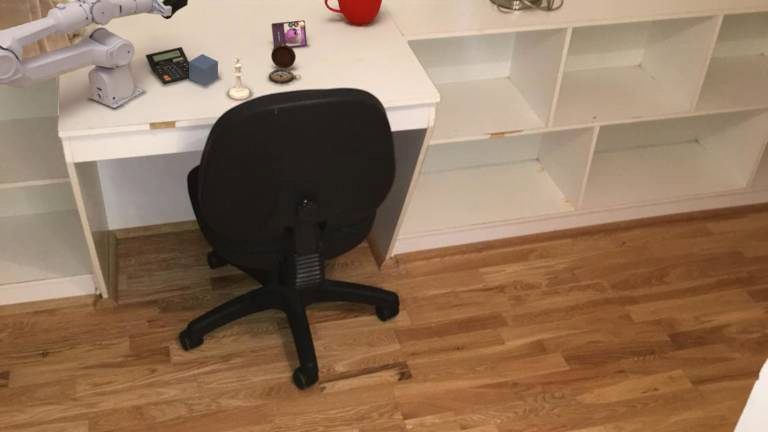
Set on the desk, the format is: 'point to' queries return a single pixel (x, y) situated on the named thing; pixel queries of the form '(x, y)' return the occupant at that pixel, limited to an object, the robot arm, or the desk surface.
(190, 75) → the slate block
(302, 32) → the purple printed box
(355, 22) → the ceramic cup
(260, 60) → the desk surface
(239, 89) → the chess piece
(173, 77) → the calculator
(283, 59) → the compass
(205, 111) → the desk surface
